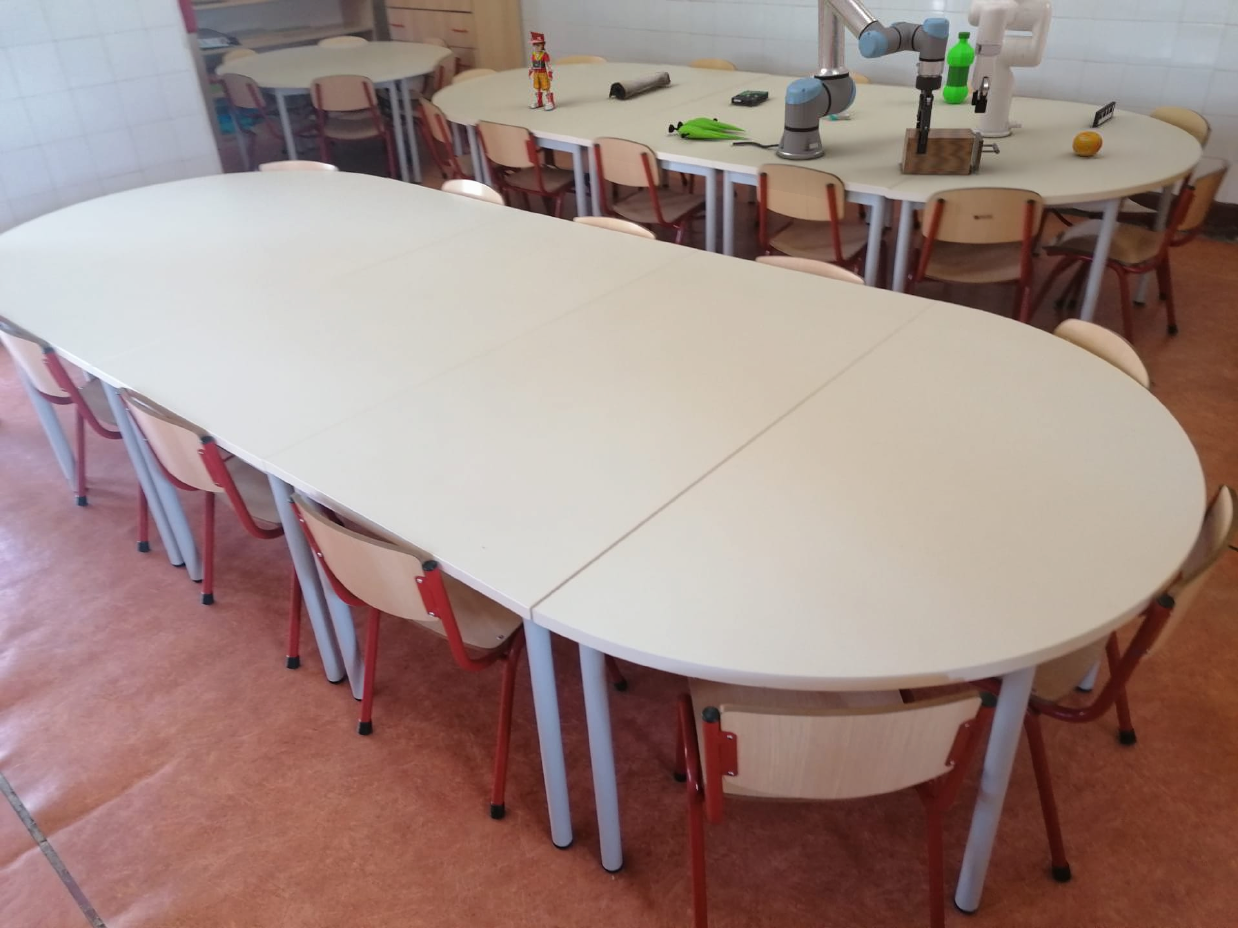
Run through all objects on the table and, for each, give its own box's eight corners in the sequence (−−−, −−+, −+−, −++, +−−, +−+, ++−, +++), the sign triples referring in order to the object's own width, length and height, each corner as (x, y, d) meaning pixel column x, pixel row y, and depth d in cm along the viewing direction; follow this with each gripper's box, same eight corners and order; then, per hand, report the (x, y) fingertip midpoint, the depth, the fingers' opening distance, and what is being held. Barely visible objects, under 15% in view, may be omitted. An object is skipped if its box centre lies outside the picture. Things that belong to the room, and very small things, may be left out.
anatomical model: (813, 89, 348) (838, 82, 348) (816, 116, 354) (841, 109, 353) (823, 98, 336) (849, 91, 335) (826, 126, 342) (852, 119, 341)
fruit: (1068, 146, 288) (1086, 124, 285) (1065, 149, 295) (1083, 127, 292) (1091, 161, 286) (1109, 138, 283) (1087, 163, 294) (1105, 141, 291)
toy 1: (525, 109, 381) (517, 32, 364) (534, 104, 388) (527, 28, 371) (550, 110, 377) (543, 32, 360) (559, 105, 384) (553, 28, 367)
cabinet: (964, 164, 290) (970, 128, 284) (968, 174, 281) (974, 138, 275) (901, 163, 294) (906, 128, 288) (903, 174, 285) (908, 137, 279)
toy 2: (657, 137, 330) (731, 151, 317) (658, 122, 327) (732, 136, 314) (693, 125, 350) (763, 137, 338) (694, 111, 347) (764, 123, 335)
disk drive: (753, 107, 365) (768, 98, 375) (754, 100, 363) (769, 91, 373) (730, 105, 370) (746, 96, 380) (730, 98, 368) (746, 89, 378)
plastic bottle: (973, 101, 354) (984, 32, 339) (955, 106, 349) (966, 36, 335) (952, 97, 361) (962, 29, 346) (934, 102, 356) (944, 33, 342)
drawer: (992, 161, 288) (998, 132, 282) (997, 171, 280) (1002, 140, 275) (915, 161, 292) (919, 132, 287) (917, 170, 284) (921, 140, 279)
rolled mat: (651, 76, 408) (662, 61, 399) (662, 93, 408) (674, 79, 400) (605, 92, 391) (616, 77, 383) (617, 110, 391) (628, 95, 383)
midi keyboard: (1096, 127, 316) (1099, 112, 313) (1092, 126, 317) (1095, 112, 314) (1112, 116, 326) (1116, 101, 323) (1108, 115, 327) (1112, 101, 324)
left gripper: (914, 67, 283) (905, 138, 295) (919, 83, 264) (909, 159, 276) (939, 66, 281) (929, 138, 294) (946, 83, 263) (935, 159, 275)
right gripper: (972, 44, 278) (962, 102, 287) (978, 55, 264) (968, 116, 274) (997, 44, 276) (987, 102, 286) (1005, 55, 262) (994, 116, 272)
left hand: (919, 148), depth 285 cm, fingers closed on cabinet, 11 cm apart
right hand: (978, 109), depth 280 cm, fingers open, 9 cm apart
